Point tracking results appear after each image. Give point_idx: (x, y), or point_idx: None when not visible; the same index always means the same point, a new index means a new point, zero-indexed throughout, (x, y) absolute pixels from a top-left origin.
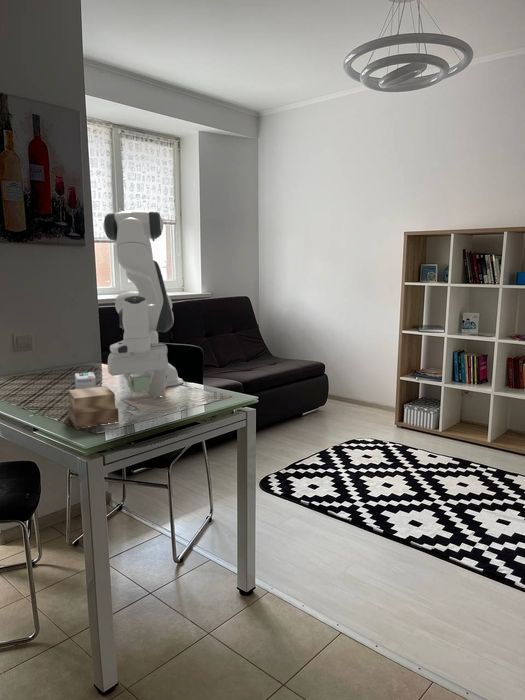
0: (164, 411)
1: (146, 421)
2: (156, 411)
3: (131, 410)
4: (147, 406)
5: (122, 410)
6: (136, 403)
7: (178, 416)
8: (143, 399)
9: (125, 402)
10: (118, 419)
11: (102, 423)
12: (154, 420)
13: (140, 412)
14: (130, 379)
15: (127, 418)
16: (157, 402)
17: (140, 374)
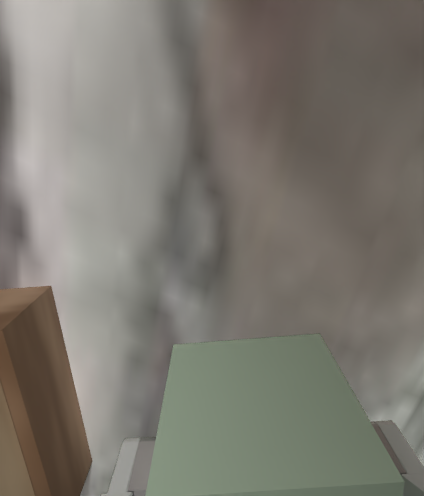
0: (345, 369)
1: None
2: None
3: (182, 281)
4: (295, 232)
5: (130, 259)
6: (249, 117)
7: None
8: (332, 6)
9: (178, 44)
10: (84, 479)
11: None
12: None
13: (222, 339)
14: (158, 455)
15: (139, 411)
16: (390, 157)
17: (333, 491)
